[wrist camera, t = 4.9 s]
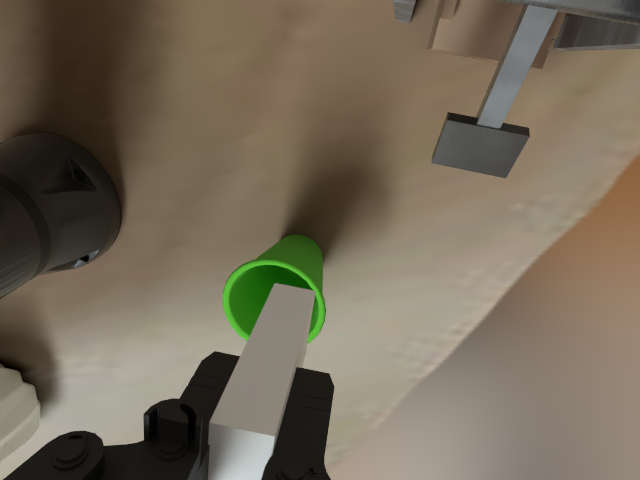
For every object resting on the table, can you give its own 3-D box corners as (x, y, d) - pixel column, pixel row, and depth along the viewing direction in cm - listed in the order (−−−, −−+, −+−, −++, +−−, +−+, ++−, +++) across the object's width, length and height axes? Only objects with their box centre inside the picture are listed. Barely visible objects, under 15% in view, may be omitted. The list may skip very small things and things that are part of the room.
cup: (322, 204, 45) (300, 246, 35) (353, 281, 48) (340, 340, 38) (245, 230, 48) (204, 276, 38) (278, 301, 50) (248, 361, 40)
